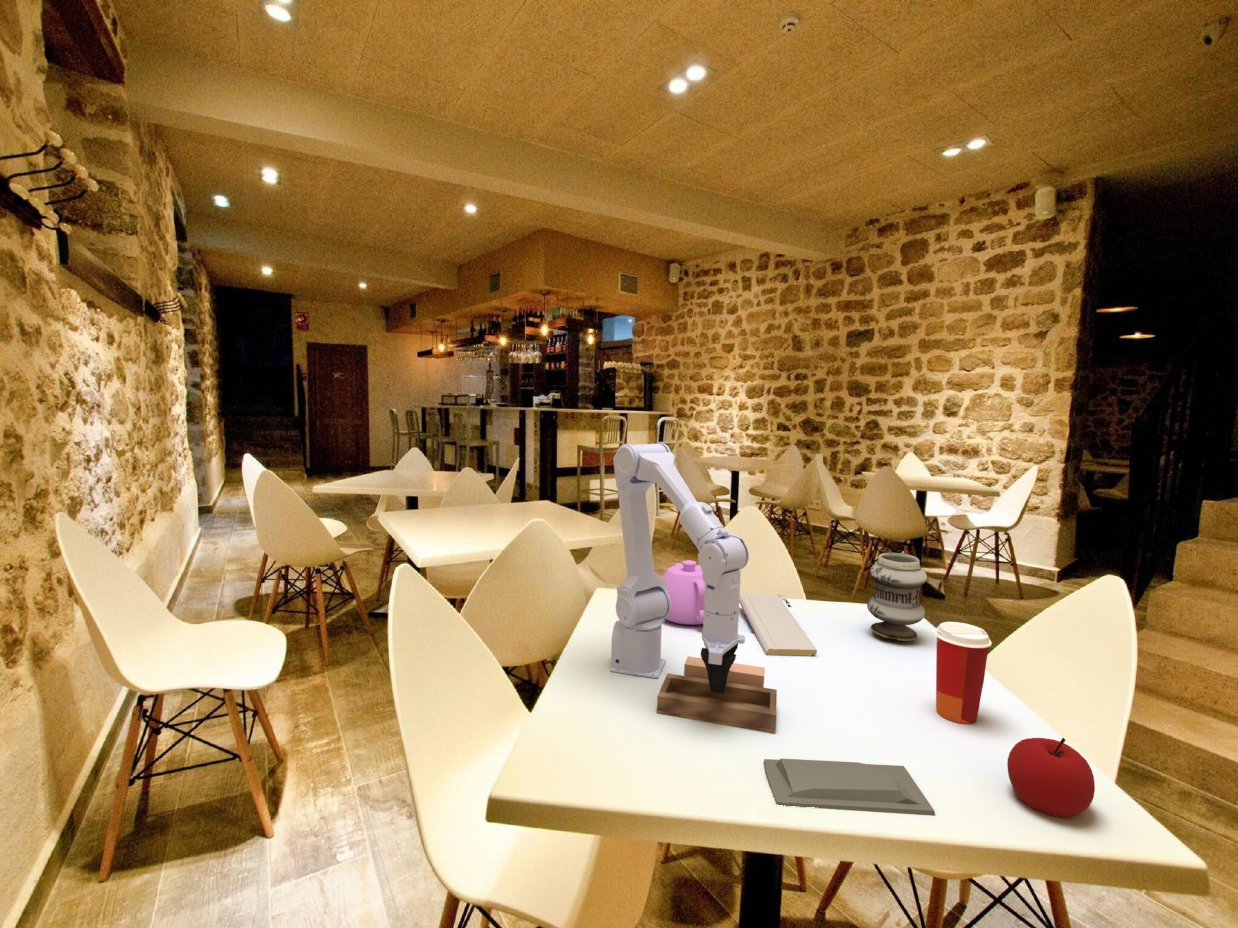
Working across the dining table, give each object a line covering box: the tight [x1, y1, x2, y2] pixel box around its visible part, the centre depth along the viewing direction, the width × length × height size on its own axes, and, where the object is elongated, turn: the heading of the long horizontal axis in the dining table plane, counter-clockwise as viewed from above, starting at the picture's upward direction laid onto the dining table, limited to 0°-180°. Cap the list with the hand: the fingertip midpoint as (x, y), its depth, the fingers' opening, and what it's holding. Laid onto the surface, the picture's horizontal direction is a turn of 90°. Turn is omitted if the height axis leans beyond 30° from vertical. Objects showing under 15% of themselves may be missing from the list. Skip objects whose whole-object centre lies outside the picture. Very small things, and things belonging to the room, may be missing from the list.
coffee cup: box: [933, 621, 993, 725], centre depth 96 cm, size 8×8×15 cm
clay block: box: [683, 656, 766, 688], centre depth 104 cm, size 14×4×5 cm, turn 73°
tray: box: [656, 672, 778, 735], centre depth 96 cm, size 19×9×4 cm, turn 74°
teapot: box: [661, 559, 705, 626], centre depth 141 cm, size 22×22×14 cm
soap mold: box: [763, 758, 936, 817], centre depth 77 cm, size 10×20×4 cm, turn 87°
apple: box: [1006, 737, 1096, 819], centre depth 74 cm, size 9×9×10 cm
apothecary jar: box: [866, 552, 928, 642], centre depth 132 cm, size 12×12×18 cm
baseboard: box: [739, 593, 818, 657], centre depth 134 cm, size 31×3×12 cm
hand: (718, 687), depth 96 cm, fingers closed
